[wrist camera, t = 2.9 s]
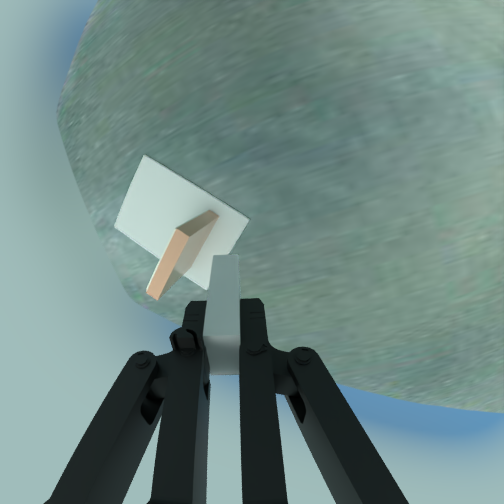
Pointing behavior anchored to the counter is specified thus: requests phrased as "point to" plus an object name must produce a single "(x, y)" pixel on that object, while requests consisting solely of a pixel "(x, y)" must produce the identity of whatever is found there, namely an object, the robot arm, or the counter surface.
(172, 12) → the counter surface
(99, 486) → the robot arm
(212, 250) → the white rectangular board
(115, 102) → the counter surface
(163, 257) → the terracotta tile
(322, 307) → the counter surface
